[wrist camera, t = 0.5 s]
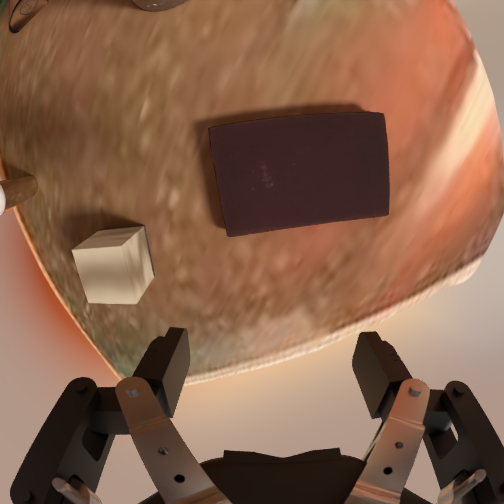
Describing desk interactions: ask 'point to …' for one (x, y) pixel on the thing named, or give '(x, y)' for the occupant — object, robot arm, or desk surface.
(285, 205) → the book
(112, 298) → the maple block
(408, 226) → the desk surface
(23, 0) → the sunglasses case
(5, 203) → the milkshake
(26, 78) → the desk surface
